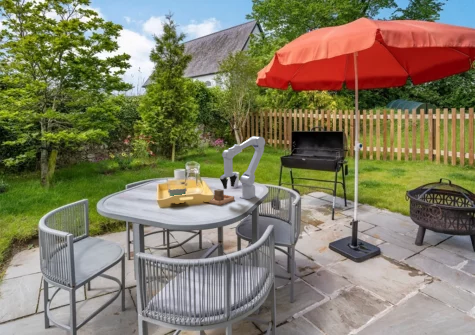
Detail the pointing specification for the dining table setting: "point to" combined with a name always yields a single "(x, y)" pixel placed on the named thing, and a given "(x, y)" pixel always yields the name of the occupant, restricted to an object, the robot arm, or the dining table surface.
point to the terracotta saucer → (226, 200)
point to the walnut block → (219, 194)
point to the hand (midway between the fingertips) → (228, 187)
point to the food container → (177, 192)
